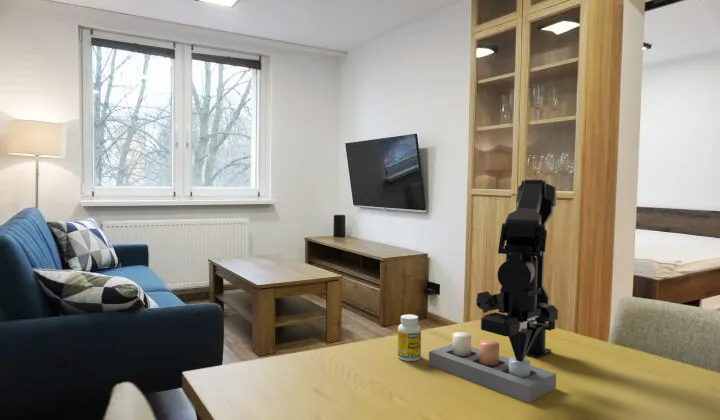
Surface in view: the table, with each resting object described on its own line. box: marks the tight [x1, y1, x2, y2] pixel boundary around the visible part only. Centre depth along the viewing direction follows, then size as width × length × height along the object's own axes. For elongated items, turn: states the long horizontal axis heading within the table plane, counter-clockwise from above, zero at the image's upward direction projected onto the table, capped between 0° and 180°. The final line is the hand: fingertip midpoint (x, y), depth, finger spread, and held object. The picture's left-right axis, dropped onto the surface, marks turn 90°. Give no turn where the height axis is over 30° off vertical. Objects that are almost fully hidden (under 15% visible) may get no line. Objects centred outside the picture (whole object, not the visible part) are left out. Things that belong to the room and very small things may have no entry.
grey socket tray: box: [428, 343, 557, 404], centre depth 99 cm, size 10×24×3 cm, turn 40°
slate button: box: [509, 356, 531, 379], centre depth 94 cm, size 4×4×4 cm
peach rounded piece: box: [478, 339, 500, 365], centre depth 99 cm, size 4×4×4 cm
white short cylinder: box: [451, 331, 472, 356], centre depth 104 cm, size 4×4×4 cm
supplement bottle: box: [397, 313, 422, 362], centre depth 109 cm, size 5×5×10 cm
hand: (519, 360), depth 93 cm, fingers closed, pressing on slate button
